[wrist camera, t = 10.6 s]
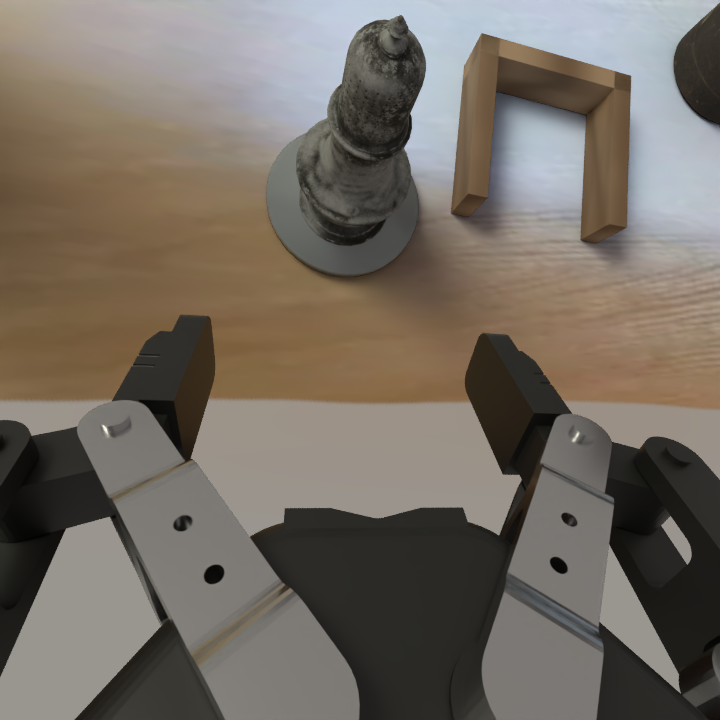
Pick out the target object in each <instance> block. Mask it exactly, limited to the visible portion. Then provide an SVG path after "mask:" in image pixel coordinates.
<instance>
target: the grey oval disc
mask: <svg viewBox="0 0 720 720" xmlns="http://www.w3.org/2000/svg"><path fill="white" fill-rule="evenodd" d="M305 135H306V133H305V134H303V135H301V136H299V137H297V138H296V139H295V140H293V141H292V142H290V143H289V144H288V145H287V146H286V147H285V148H284V149H283V150H282V152H281V153H280V154H279V155H278V157H277V158H276V160H275V162H274V164H273V166H272V168H271V171H270V173H269V177H268V182H267V192H266V195H267V209H268V214H269V218H270V221H271V224H272V227H273V229H274V231H275V233H276V235H277V237H278V238H279V240H280V241H281V243H282V244H283V245H284V246H285V248H286V249H287V250H288V251H289V252H290V253H291V254H292V255H293V256H294V257H296V258H297V259H298V260H299V261H301V262H302V263H304V264H305V265H307V266H309V267H311V268H313V269H315V270H317V271H320V272H323V273H326V274H330V275H334V276H343V277H350V276H360V275H365V274H369V273H372V272H374V271H377V270H379V269H381V268H383V267H384V266H386V265H388V264H389V263H390V262H391V261H393V260H394V259H395V258H396V257H397V256H398V255H399V254H400V253H401V252H402V250H403V249H404V248H405V246H406V245H407V243H408V242H409V240H410V238H411V236H412V234H413V232H414V229H415V226H416V223H417V217H418V196H417V191H416V187H415V184H414V181H413V178H412V176H411V182H410V186H409V190H408V194H407V196H406V198H405V200H404V201H403V203H402V205H401V206H400V208H399V209H398V210H397V211H396V212H395V213H393V214H392V215H391V216H390V217H389V218H387V219H386V222H385V223H384V225H383V227H382V229H381V230H380V232H378V233H377V234H376V235H375V236H374V237H373V238H372V239H370V240H368V241H366V242H364V243H362V244H358V245H353V246H344V245H337V244H334V243H330V242H327V241H326V240H324V239H323V238H321V237H319V236H318V235H317V234H316V233H315V232H314V231H313V230H312V229H311V228H310V227H309V226H308V224H307V223H306V221H305V219H304V218H303V216H302V212H301V208H300V205H299V195H300V189H301V188H300V185H299V181H298V177H297V174H296V156H297V152H298V149H299V145H300V142H301V141H302V139H303V138H304V136H305Z"/></svg>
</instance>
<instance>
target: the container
mask: <svg viewBox="0 0 720 720" xmlns="http://www.w3.org/2000/svg"><path fill="white" fill-rule="evenodd" d="M674 72H675V76H676V81H677V83H678V86H679V88H680V91H681V93H682V94H683V96H684V98H685V99H686V101H687V102H688V103H689V104H690V105H691V106H692V107H693V109H694V110H696V111H697V112H698V113H699V114H700V115H702V116H703V117H705V118H707V119H708V120H711V121H713V122H716V123H720V3H719V4H718V5H717V6H716V7H715V8H714V9H713V10H711V11H710V12H709V13H708V14H707V15H706V16H705V17H704V18H703V19H701V20H700V21H699V22H698V23H697V24H696V25H695V26H694V27H693V28H692V29H691V30H690V31H689V32H688V33H687V34H686V35H685V36H684V37H683V38H682V39H681V41H680V42H679V44H678V46H677V49H676V52H675V56H674Z"/></svg>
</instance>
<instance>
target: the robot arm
mask: <svg viewBox="0 0 720 720" xmlns="http://www.w3.org/2000/svg"><path fill="white" fill-rule="evenodd" d="M214 376H215V355H214V345H213V335H212V325H211V319H210V317H209V316H197V315H180V317H179V319H178V321H177V323H176V325H175V327H174V329H173V331H172V332H167V331H160V332H158V333H157V334H156V335H154V336H153V337H151V338H150V339H149V340H147V341H146V342H145V344H144V346H143V348H142V349H141V351H140V353H139V356H137V358H136V360H135V362H134V363H133V366H132V367H131V369H130V370H129V372H128V374H127V376H126V377H125V379H124V381H123V383H122V384H121V386H120V388H119V390H118V391H117V393H116V395H115V397H114V398H113V400H112V402H109V403H105V404H103V405H100V406H98V407H96V408H94V409H92V410H91V411H90V412H88V413H87V414H86V415H85V416H84V417H83V418H82V419H81V421H80V422H79V424H78V426H77V427H74V428H70V429H66V430H61V431H55V432H50V433H45V434H39V435H35V436H31V434H30V432H29V429H28V428H27V427H26V426H25V425H24V424H22V423H19V422H17V421H11V420H0V676H1V674H2V672H3V669H4V667H5V665H6V663H7V660H8V658H9V656H10V653H11V651H12V649H13V647H14V645H15V642H16V640H17V637H18V635H19V633H20V631H21V629H22V626H23V624H24V622H25V620H26V617H27V615H28V613H29V611H30V608H31V606H32V604H33V602H34V599H35V597H36V595H37V593H38V590H39V588H40V586H41V584H42V581H43V579H44V577H45V575H46V572H47V570H48V567H49V565H50V563H51V561H52V558H53V556H54V554H55V552H56V550H57V547H58V545H59V543H60V540H61V538H62V536H63V534H64V532H65V529H66V528H69V527H73V526H77V525H80V524H83V523H88V522H91V521H95V520H99V519H102V518H106V517H110V518H111V520H112V522H113V525H114V527H115V529H116V531H117V533H118V535H119V537H120V539H121V541H122V543H123V545H124V547H125V549H126V551H127V554H128V556H129V558H130V560H131V562H132V564H133V566H134V568H135V570H136V572H137V574H138V577H139V579H140V581H141V583H142V586H143V588H144V590H145V592H146V595H147V597H148V600H149V602H150V604H151V606H152V608H153V610H154V613H155V615H156V617H157V619H158V621H159V623H160V625H161V627H160V628H159V629H158V631H156V633H155V634H154V635H153V636H152V637H151V638H150V639H149V640H148V641H147V642H146V643H145V644H144V646H143V647H142V648H141V649H140V650H139V651H138V652H137V653H136V654H135V655H134V656H133V657H132V659H131V660H130V661H129V662H128V663H127V664H126V665H125V666H124V667H123V668H122V669H121V670H120V671H119V672H118V674H117V675H116V676H115V677H114V678H113V679H112V680H111V681H110V682H109V683H108V684H107V685H106V687H105V688H104V689H103V690H102V691H101V692H100V693H99V694H98V695H97V696H96V697H95V698H94V699H93V701H92V702H91V703H90V704H89V705H88V706H87V707H86V708H85V709H84V710H83V711H82V712H81V713H80V715H79V716H78V717H77V718H76V719H75V720H720V480H719V479H718V477H717V476H716V475H715V474H714V473H713V472H712V471H711V469H710V468H709V467H708V466H707V465H706V464H705V463H704V461H703V460H702V459H701V458H700V457H699V456H698V455H697V454H696V453H694V452H693V451H692V450H690V449H689V448H688V447H686V446H684V445H682V444H681V443H679V442H676V441H674V440H671V439H668V438H664V437H651V438H649V439H647V440H646V441H645V443H644V444H643V445H642V447H641V448H640V449H637V448H633V447H629V446H626V445H622V444H618V443H614V442H612V441H611V439H610V437H609V435H608V434H607V433H606V431H605V430H604V429H602V427H600V426H599V425H598V424H596V423H595V422H593V421H591V420H589V419H587V418H585V417H582V416H579V415H575V414H572V413H571V411H570V410H569V409H568V407H567V406H566V404H565V403H564V401H563V400H562V399H561V397H560V396H559V394H558V393H557V392H556V390H555V389H554V387H553V386H552V385H550V382H549V380H548V379H547V377H546V376H545V375H543V372H542V370H541V369H540V367H539V366H538V365H537V363H536V362H535V361H534V360H533V359H531V358H530V357H529V356H527V355H526V354H525V353H524V352H522V351H518V349H517V348H516V346H515V345H514V343H513V342H512V340H511V339H510V337H509V336H508V335H504V334H487V333H483V334H481V335H480V336H479V338H478V340H477V343H476V346H475V349H474V352H473V355H472V357H471V360H470V363H469V366H468V369H467V372H466V376H465V388H466V392H467V395H468V397H469V399H470V401H471V404H472V406H473V408H474V410H475V413H476V415H477V417H478V419H479V422H480V424H481V426H482V428H483V431H484V433H485V435H486V437H487V439H488V442H489V444H490V446H491V449H492V451H493V453H494V455H495V458H496V460H497V462H498V464H499V467H500V469H501V471H502V474H505V475H506V474H508V475H520V477H521V479H522V481H521V483H520V484H519V486H518V488H517V491H516V493H515V496H514V499H513V501H512V504H511V506H510V509H509V511H508V514H507V517H506V520H505V522H504V524H503V527H502V530H501V533H500V535H497V534H495V533H494V532H492V531H490V530H488V529H485V528H483V527H481V526H478V525H475V524H473V523H469V522H467V519H466V516H465V513H464V510H463V508H419V509H415V510H411V511H407V512H403V513H400V514H396V515H392V516H388V517H384V518H379V519H378V518H371V517H366V516H362V515H358V514H354V513H349V512H345V511H340V510H336V509H332V508H290V509H289V508H287V509H285V515H284V523H281V524H277V525H274V526H271V527H269V528H266V529H263V530H262V531H260V532H258V533H256V534H254V535H252V536H251V537H249V536H248V534H247V533H246V531H245V530H244V529H243V527H242V526H241V525H240V523H239V522H238V520H237V519H236V517H235V516H234V515H233V513H232V512H231V510H230V509H229V508H228V506H227V505H226V503H225V502H224V501H223V499H222V498H221V496H220V495H219V494H218V492H217V491H216V489H215V488H214V487H213V485H212V484H211V482H210V481H209V480H208V478H207V477H206V475H205V474H204V473H203V471H202V470H201V468H200V467H199V466H198V464H197V463H196V462H195V461H194V460H193V459H190V458H191V455H192V452H193V448H194V444H195V442H196V438H197V435H198V432H199V428H200V425H201V422H202V418H203V415H204V411H205V408H206V405H207V402H208V398H209V395H210V392H211V388H212V385H213V381H214ZM670 516H671V517H672V518H673V520H674V521H675V522H676V524H677V525H678V527H679V528H680V530H681V531H682V533H683V534H684V535H685V537H686V538H687V540H688V542H689V544H690V546H691V551H692V557H691V561H690V562H689V564H688V565H687V564H686V562H685V561H684V559H683V558H682V556H681V555H680V553H679V552H678V551H677V549H676V547H675V546H674V544H673V543H672V541H671V540H670V538H669V537H668V535H667V534H666V532H665V531H664V529H663V528H662V527H661V525H662V524H663V523H664V522H665V521H666V520H667V519H668V518H669V517H670ZM609 545H610V546H611V548H612V550H613V552H614V554H615V556H616V558H617V559H618V561H619V563H620V565H621V567H622V569H623V571H624V573H625V574H626V576H627V578H628V580H629V582H630V584H631V585H632V587H633V589H634V591H635V593H636V595H637V597H638V599H639V601H640V602H641V604H642V606H643V608H644V610H645V612H646V614H647V615H648V617H649V619H650V621H651V623H652V625H653V627H654V628H655V630H656V632H657V634H658V636H659V638H660V640H661V641H662V643H663V645H664V647H665V649H666V651H667V653H668V655H669V656H670V658H671V660H672V662H673V664H674V665H675V668H676V669H677V671H678V673H679V687H680V692H681V694H680V693H679V692H678V691H677V690H676V689H674V688H673V687H672V686H671V685H670V684H669V683H668V682H667V681H666V680H664V679H663V678H662V677H661V676H660V675H659V674H658V673H656V672H655V671H654V670H653V669H652V668H651V667H650V666H649V665H647V664H646V663H645V662H644V661H643V660H642V659H641V658H640V657H638V656H637V655H636V654H635V653H634V652H633V651H632V650H631V649H629V648H628V647H627V646H626V645H625V644H624V643H623V642H621V641H620V640H619V639H618V638H617V637H616V636H615V635H614V634H612V633H611V632H610V631H609V630H608V629H606V627H605V626H603V625H602V624H601V623H600V622H599V619H600V611H601V603H602V595H603V588H604V579H605V572H606V564H607V556H608V548H609Z"/></svg>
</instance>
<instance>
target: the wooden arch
mask: <svg viewBox="0 0 720 720" xmlns="http://www.w3.org/2000/svg"><path fill="white" fill-rule="evenodd" d="M496 91H497V92H501V93H505V94H509V95H513V96H516V97H520V98H524V99H528V100H532V101H535V102H539V103H543V104H547V105H551V106H555V107H558V108H562V109H566V110H570V111H574V112H577V113H581V114H585V115H586V134H585V156H584V177H583V199H582V221H581V240H584V241H588V242H593V243H598V242H600V241H602V240H604V239H605V238H607V237H609V236H611V235H613V234H615V233H617V232H619V231H621V230H623V229H625V228H626V226H627V193H628V160H629V127H630V94H631V76H629V75H626V74H623V73H619V72H616V71H612V70H609V69H605V68H602V67H598V66H595V65H591V64H588V63H584V62H581V61H577V60H574V59H570V58H567V57H563V56H560V55H556V54H553V53H549V52H546V51H542V50H539V49H535V48H532V47H528V46H525V45H521V44H518V43H514V42H511V41H507V40H504V39H500V38H497V37H493V36H490V35H486V34H483V33H482V34H481V36H480V38H479V39H478V41H477V43H476V45H475V47H474V49H473V51H472V53H471V54H470V56H469V58H468V60H467V62H466V64H465V66H464V74H463V85H462V97H461V108H460V119H459V130H458V141H457V152H456V163H455V174H454V186H453V197H452V208H451V213H452V214H457V215H462V216H467V217H469V216H470V215H471V214H472V213H473V212H474V211H475V210H476V209H477V208H478V207H479V206H480V205H481V204H482V203H483V202H484V201H485V200H486V199H487V198H488V187H489V174H490V162H491V149H492V136H493V123H494V110H495V97H496Z"/></svg>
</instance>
